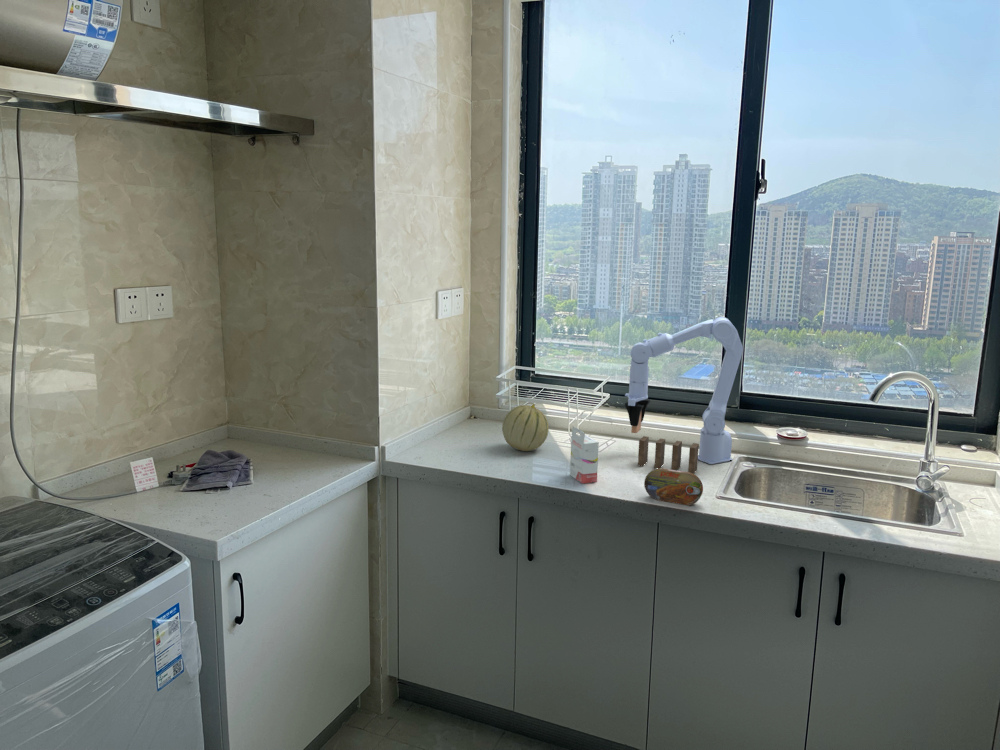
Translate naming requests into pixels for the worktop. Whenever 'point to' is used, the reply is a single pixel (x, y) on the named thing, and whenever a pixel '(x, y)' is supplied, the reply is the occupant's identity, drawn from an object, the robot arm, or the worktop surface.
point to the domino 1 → (637, 428)
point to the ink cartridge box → (583, 457)
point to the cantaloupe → (525, 428)
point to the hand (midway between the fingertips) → (636, 423)
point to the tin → (673, 486)
